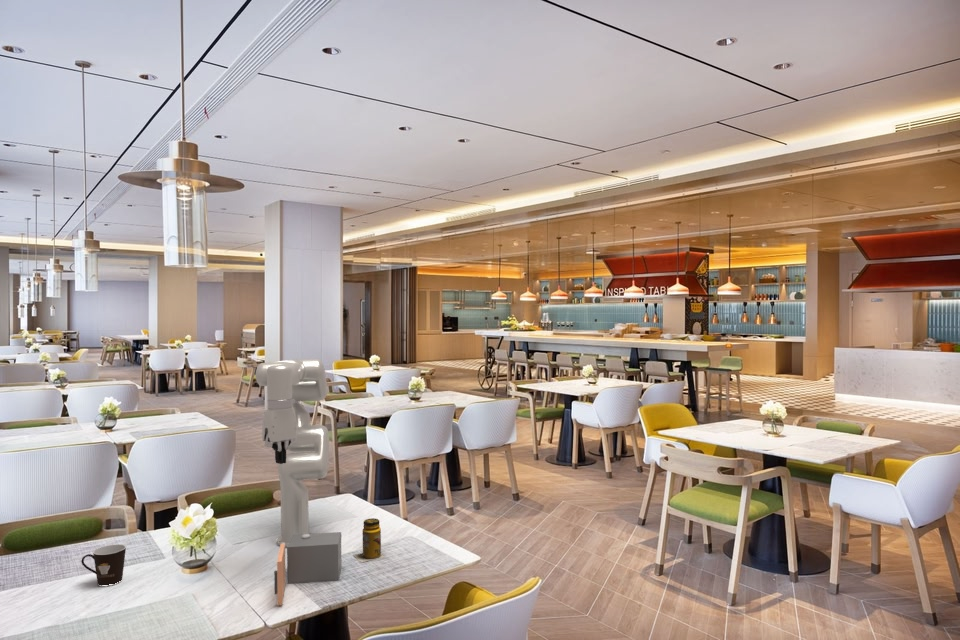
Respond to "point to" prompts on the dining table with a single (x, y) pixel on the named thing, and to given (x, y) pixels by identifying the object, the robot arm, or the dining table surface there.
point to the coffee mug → (108, 563)
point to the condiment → (371, 541)
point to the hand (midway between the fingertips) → (280, 462)
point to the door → (280, 575)
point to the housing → (314, 557)
